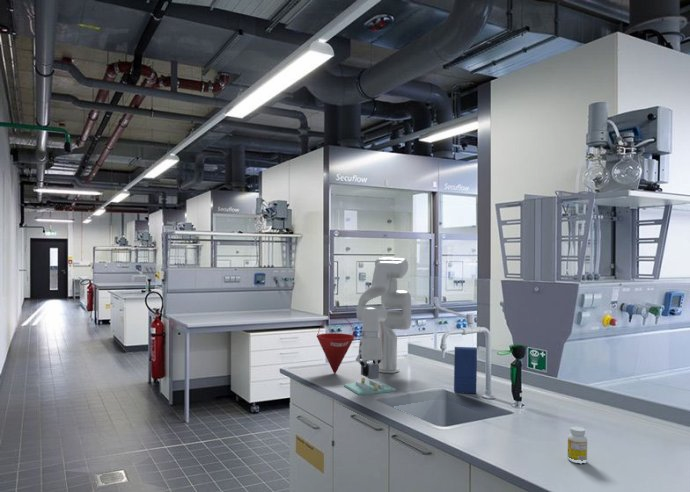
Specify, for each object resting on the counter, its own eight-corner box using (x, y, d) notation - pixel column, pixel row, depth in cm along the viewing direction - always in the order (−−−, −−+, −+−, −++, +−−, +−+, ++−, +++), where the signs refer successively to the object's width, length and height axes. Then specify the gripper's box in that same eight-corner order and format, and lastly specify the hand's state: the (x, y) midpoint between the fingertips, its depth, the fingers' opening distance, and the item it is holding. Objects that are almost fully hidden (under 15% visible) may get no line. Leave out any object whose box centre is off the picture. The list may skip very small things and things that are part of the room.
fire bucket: (323, 379, 246) (325, 317, 247) (307, 371, 264) (309, 313, 264) (362, 375, 256) (363, 316, 257) (344, 367, 274) (345, 312, 274)
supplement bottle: (584, 466, 148) (584, 433, 149) (565, 461, 152) (565, 428, 152) (589, 460, 152) (589, 428, 153) (570, 456, 156) (571, 424, 156)
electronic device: (474, 391, 231) (475, 347, 231) (476, 394, 225) (477, 349, 226) (453, 390, 231) (454, 346, 232) (454, 393, 226) (455, 348, 227)
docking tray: (344, 386, 235) (344, 378, 235) (378, 383, 242) (378, 375, 242) (359, 395, 220) (359, 386, 220) (395, 391, 228) (395, 383, 228)
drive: (360, 374, 235) (361, 361, 235) (368, 373, 236) (368, 360, 237) (370, 379, 226) (370, 365, 226) (378, 378, 227) (378, 364, 227)
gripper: (357, 336, 225) (356, 378, 224) (390, 335, 232) (389, 375, 231) (350, 334, 232) (349, 374, 231) (382, 332, 239) (381, 372, 238)
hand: (369, 374), depth 231 cm, fingers closed on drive, 4 cm apart
